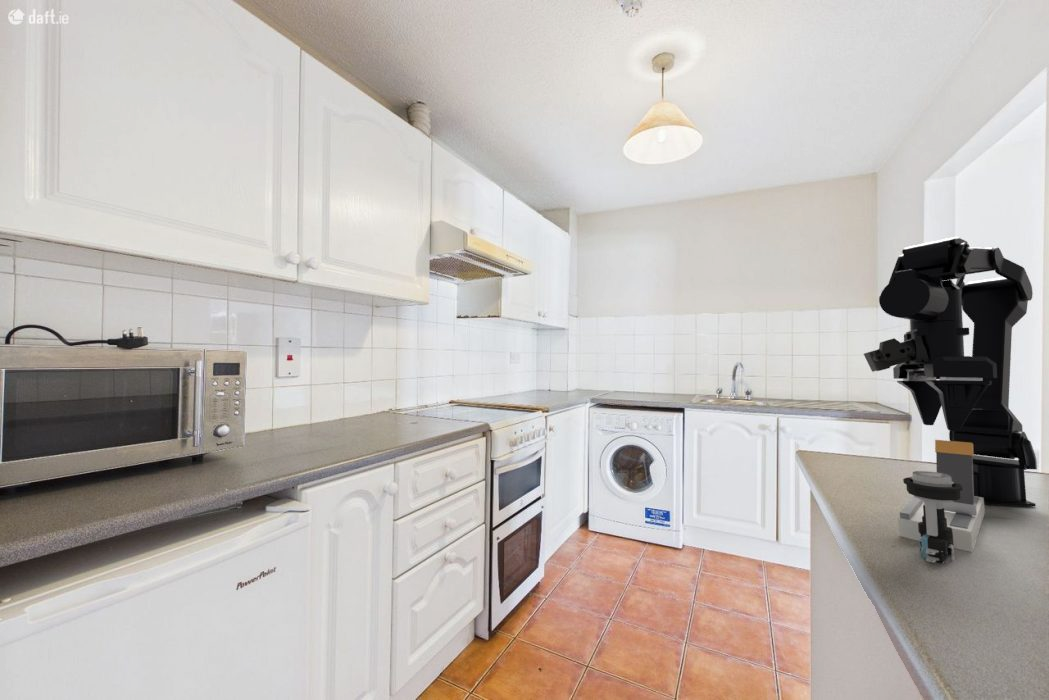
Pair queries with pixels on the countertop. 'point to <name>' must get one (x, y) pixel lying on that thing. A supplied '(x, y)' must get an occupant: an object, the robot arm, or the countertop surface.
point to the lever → (957, 472)
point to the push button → (934, 512)
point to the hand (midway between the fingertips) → (940, 427)
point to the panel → (961, 524)
